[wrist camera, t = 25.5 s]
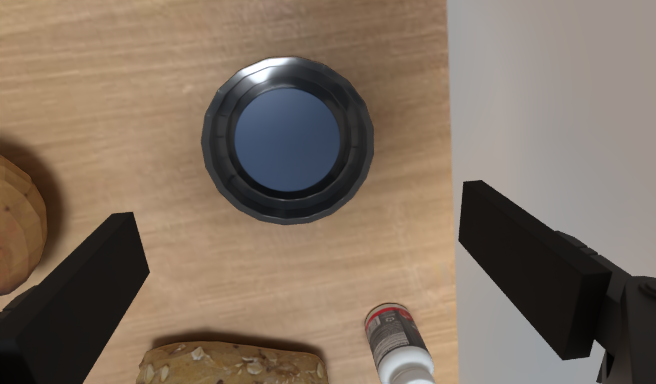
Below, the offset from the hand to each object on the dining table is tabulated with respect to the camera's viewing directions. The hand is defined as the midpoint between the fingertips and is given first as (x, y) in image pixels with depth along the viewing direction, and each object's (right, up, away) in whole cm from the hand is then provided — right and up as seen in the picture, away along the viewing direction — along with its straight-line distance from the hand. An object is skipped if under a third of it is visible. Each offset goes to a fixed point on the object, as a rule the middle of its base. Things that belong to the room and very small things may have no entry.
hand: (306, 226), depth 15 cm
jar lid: (-2, +6, +16) cm, 17 cm away
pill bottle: (+8, -13, +27) cm, 31 cm away
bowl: (-3, +6, +18) cm, 19 cm away
